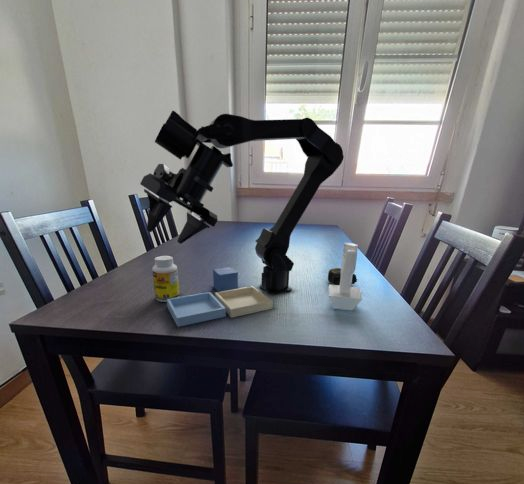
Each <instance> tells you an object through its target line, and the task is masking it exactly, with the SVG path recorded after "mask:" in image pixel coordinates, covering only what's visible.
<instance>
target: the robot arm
mask: <svg viewBox="0 0 524 484" xmlns="http://www.w3.org/2000/svg"><path fill="white" fill-rule="evenodd" d="M277 140H278V141H279V140H281V141H282V140H296V141H297V142H298V144H299V146H300V148H301V151H302V152H303V154H304V155H305V156H306V158H307V159H306V160H305V163H304V171H303V175H302V178H301V179H300V181H299V183H298V184H297V186H296V187H295V190H294V191H293V193H292V195H291V196H290V198H289V200H288V202H286V205H285V207H284V208H283V210H282V211H281V213H280V215H279V217H278V218H277V221H276V223H274V225H273V226H272V227H271V228H269V229H267V228H266V227H263V229H262V230H261V232H260V235H259V237H258V238H257V239H255V243H256V245H255V247H254V249H255V254H256V255H257V257H258V258H259V259H260V260H261V262H262V264H264V265H265V266H263V268H262V272H261V282H260V284H259V287H260V288H261V289H262V290H264V291H265V292H267V293H268V294H270V295H277V294H283V293H287V292H292V290H293V289H292V288H291V287H290V286H289V285H290V283H289V282H290V272H292V271H293V268H294V265H295V264H294V261H292V260H291V258H290V257H289V256H287V253H288V250H289V248H290V241H291V235H292V233H293V232H294V231H295V229H296V226H297V225H298V223H299V222H300V220H301V218H302V216H303V215H304V213H305V212H306V210H307V208H308V206H309V205H310V203H311V201H313V198H314V196H315V195H316V193H317V192H318V189H320V186H321V185H322V184H323V183H324V182H325V181H327V180H328V179H329V178H330V177H331V176H333V175H334V173H335V172H336V171H337V169H339V167H340V166H341V164H342V162H343V161H344V156H345V155H344V151H343V148H342V146H341V145H340V144H339V143H338V142H336V141H335V140H334V138H332V136H331V135H330V134H328V133H327V132H325V131H324V130H323V129H321V127H319V126H318V124H317V123H316V122H315V121H314V120H313V119H312V118H310V117H304V118H295V119H294V118H291V119H257V120H255V119H250V118H247V117H244V116H241V115H235V114H231V113H222V114H220V115H218V116H216V117H215V118H214V119H213V120H212V121H211V122H210V123H209V125H206V126H201V127H200V128H199V127H198V129H196V128H195V127H194V126H193V125H192V124H190V123H189V122H187V121H186V120H185V119H184V118H182V117H181V115H180V114H179V113H177V112H176V110H171V112H170V114H169V116H168V118H167V119H166V121H165V123H163V124H162V125H161V128H160V130H159V131H158V134H157V135H156V138H155V140H154V143H155V144H157V145H158V146H160V147H161V148H163V149H164V150H166V151H167V152H168V153H170V154H171V155H173V156H174V157H175V158H177V159H179V160H180V161H181V160H182V159H183V158H186V159H189V158H190V157H191V155H192V153H193V152H194V150H195V148H196V146H197V149H196V151H195V153H194V155H193V156H192V157H191V160H190V162H189V163H188V165H187V167H186V169H185V167H181V168H180V169H179V170H178V172H177V173H173V172H172V171H171V170H170V168H169V167H168V166H166V165H165V164H164V163H158V164H157V166H156V167H155V169H154V170H153V174H152V173H151V172H150V173H148V174H146V175H144V176H143V178H142V180H141V181H140V183H139V185H141V186H142V187H144V188H143V192H144V193H145V194H146V195H147V198H148V201H149V203H148V216H147V223H146V231H147V232H148V233H152V232H154V230H155V229H156V228H157V227H158V225H159V224H160V223H161V222H162V220H163V219H164V218H165V217H166V215H167V214H168V213H169V211H171V209H172V208H173V205H171V204H170V203H172V202H174V203H176V204H178V205H179V206H181V207H183V208H185V209H186V210H188V211H190V213H189V212H186V222H185V224H184V226H183V228H182V229H181V232H180V234H179V236H178V237H177V243H178V244H180V245H181V244H183V243H185V242H186V241H188V240H189V239H191V238H193V236H195V235H197V234H199V233H200V232H202V231H204V230H205V229H210V227H215V226H216V224H217V222H218V221H219V219H218V215H217V214H216V213H215V212H213V211H211V210H209V209H208V208H206V207H205V204H204V203H202V201H203V199H204V197H205V195H206V194H207V192H210V193H212V192H213V190H214V187H213V186H212V183H213V181H214V180H215V178H216V176H217V175H218V173H219V171H220V169H221V167H222V166H224V167H226V168H232V167H233V166H234V164H233V163H234V162H233V161H232V153H230V152H228V153H224V152H222V151H221V150H220V149H226V148H231V147H234V146H238V145H242V144H245V143H246V144H247V143H250V142H257V141H258V142H261V141H277ZM206 144H212V146H211V147H210V146H208V145H206Z"/></svg>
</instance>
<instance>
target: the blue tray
mask: <svg viewBox="0 0 524 484" xmlns="http://www.w3.org/2000/svg"><path fill="white" fill-rule="evenodd" d="M166 306H167V309H168V311H169V313H170V315H171V316H172V319H173V320H174V322H175V324H176V326H177V328H179V327H185V326H188V325H194V324H199V323H202V322H206V321H207V322H208V321H212V320H216V319H221V318H225V317H227V313H226V308H225V307H224V306H223V305H222V304H221V303H220V302H219V301H218V300H217V299H216V298H215V294H213V293H212V292H211V291H206V292H201V293H195V294H188V295H183V296H179V297H176V298H170V299H167V302H166Z"/></svg>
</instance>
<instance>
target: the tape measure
mask: <svg viewBox="0 0 524 484" xmlns="http://www.w3.org/2000/svg"><path fill="white" fill-rule="evenodd" d="M340 278H341V267H335V268H331V269H329V270H328V274H327V281H328V282H329V283H331V284H332V285H338V286H340ZM357 282H358V279H357V274H355V273H353V277H352V284H351V285H355V284H356V283H357Z"/></svg>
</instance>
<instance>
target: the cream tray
mask: <svg viewBox="0 0 524 484" xmlns="http://www.w3.org/2000/svg"><path fill="white" fill-rule="evenodd" d="M214 297H215V298H216V299H217V300H218V301H219V302H220V303H221V304H222V305H223V306H224V307H225V308H226V315H228V316H229V317H230V318H231V319H232V318H237V317H241V316H246V315H249V314H254V313H258V312H263V311H267V310H272V309H273V305H274V304H273V300H272V299H271V298H270V297H269V296H267V295H266V294H265V293H262V291H260V290H258V289H257V288H256V287H254V286H253V285H251V286H244V287H240V288H239V287H238V289H233V290H227V291H221V292H218V291H216V292H214Z"/></svg>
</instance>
